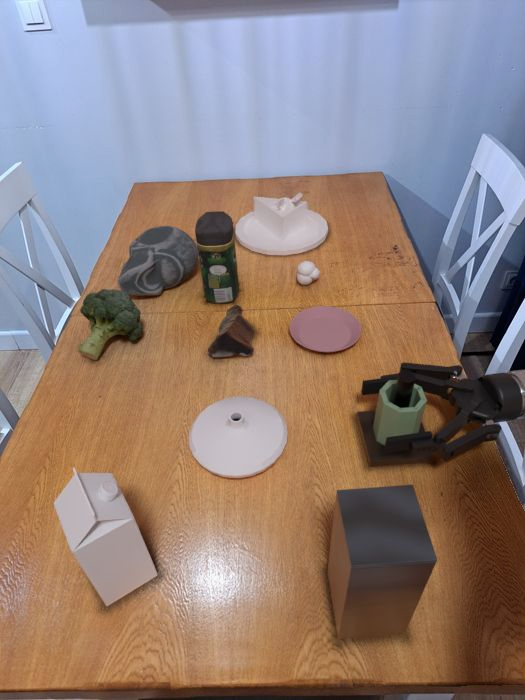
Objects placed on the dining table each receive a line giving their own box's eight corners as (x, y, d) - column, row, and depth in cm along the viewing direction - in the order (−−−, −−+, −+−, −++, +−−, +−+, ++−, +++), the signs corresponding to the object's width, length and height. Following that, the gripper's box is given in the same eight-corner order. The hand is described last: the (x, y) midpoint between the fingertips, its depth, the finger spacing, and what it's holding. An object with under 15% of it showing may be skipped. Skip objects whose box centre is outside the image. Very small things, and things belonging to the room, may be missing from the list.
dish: (345, 225, 133) (348, 184, 126) (291, 265, 119) (291, 223, 111) (273, 202, 145) (272, 164, 137) (216, 237, 131) (212, 197, 123)
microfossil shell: (295, 277, 115) (295, 257, 111) (318, 276, 115) (319, 256, 111) (297, 288, 112) (297, 268, 108) (320, 287, 112) (321, 266, 108)
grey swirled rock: (114, 305, 111) (152, 258, 125) (179, 311, 107) (210, 262, 121) (98, 262, 103) (140, 217, 118) (167, 267, 99) (202, 220, 113)
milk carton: (107, 608, 62) (59, 534, 49) (88, 561, 66) (41, 483, 54) (158, 576, 64) (126, 498, 52) (137, 533, 69) (103, 452, 56)
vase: (296, 416, 84) (296, 388, 79) (275, 496, 72) (274, 468, 68) (209, 401, 87) (204, 373, 82) (176, 476, 76) (168, 448, 71)
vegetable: (54, 340, 98) (95, 279, 102) (109, 373, 103) (147, 314, 107) (60, 338, 87) (106, 270, 91) (122, 375, 92) (163, 309, 96)
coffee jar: (206, 281, 115) (196, 208, 103) (240, 280, 115) (233, 206, 103) (202, 306, 108) (191, 230, 96) (238, 305, 108) (231, 229, 95)
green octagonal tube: (420, 448, 76) (431, 409, 70) (379, 450, 76) (386, 413, 70) (408, 416, 81) (418, 378, 75) (370, 419, 81) (376, 381, 75)
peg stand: (433, 462, 76) (454, 399, 66) (369, 467, 76) (380, 404, 66) (414, 413, 83) (431, 350, 73) (356, 417, 83) (365, 354, 73)
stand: (404, 634, 58) (437, 559, 45) (337, 639, 58) (351, 566, 45) (387, 567, 64) (412, 484, 51) (327, 572, 64) (336, 489, 51)
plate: (275, 336, 99) (274, 329, 98) (319, 305, 107) (319, 297, 105) (330, 369, 92) (331, 361, 90) (374, 332, 99) (375, 325, 98)
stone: (200, 345, 92) (217, 298, 103) (210, 367, 96) (225, 319, 107) (246, 341, 90) (258, 293, 101) (253, 363, 94) (264, 314, 104)
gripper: (544, 472, 70) (396, 495, 68) (470, 362, 87) (350, 378, 86) (564, 440, 65) (405, 463, 63) (481, 330, 82) (354, 347, 81)
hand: (373, 415), depth 75 cm, fingers open, 11 cm apart
